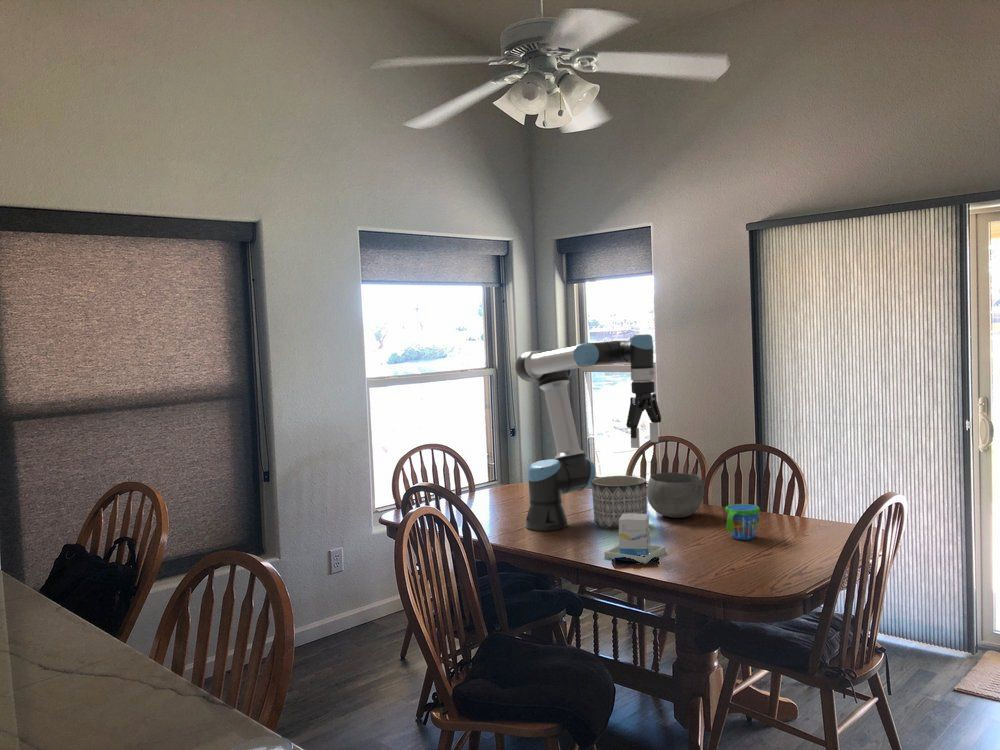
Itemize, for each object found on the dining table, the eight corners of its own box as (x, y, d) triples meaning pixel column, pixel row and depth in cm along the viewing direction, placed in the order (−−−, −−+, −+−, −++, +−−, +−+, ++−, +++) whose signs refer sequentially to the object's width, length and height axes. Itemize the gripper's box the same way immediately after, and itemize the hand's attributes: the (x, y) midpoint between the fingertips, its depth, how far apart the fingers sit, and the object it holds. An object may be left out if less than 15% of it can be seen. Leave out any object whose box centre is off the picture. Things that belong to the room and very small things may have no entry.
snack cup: (746, 530, 278) (745, 500, 278) (772, 536, 269) (771, 505, 269) (714, 539, 269) (713, 508, 269) (740, 545, 261) (739, 513, 260)
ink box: (647, 557, 250) (645, 519, 249) (619, 556, 252) (617, 519, 252) (650, 550, 258) (649, 513, 257) (623, 549, 261) (621, 512, 260)
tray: (604, 558, 253) (604, 552, 253) (625, 547, 265) (625, 541, 265) (646, 564, 245) (645, 557, 245) (665, 552, 256) (665, 546, 256)
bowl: (642, 521, 298) (640, 480, 297) (654, 509, 317) (652, 470, 316) (700, 524, 290) (698, 481, 289) (708, 511, 309) (707, 471, 308)
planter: (633, 535, 279) (631, 487, 279) (583, 529, 291) (581, 483, 290) (657, 523, 295) (655, 477, 294) (609, 518, 306) (607, 474, 305)
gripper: (635, 384, 261) (637, 450, 262) (669, 378, 280) (672, 440, 282) (614, 384, 265) (616, 449, 266) (649, 378, 285) (652, 439, 286)
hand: (645, 444), depth 274 cm, fingers open, 13 cm apart
